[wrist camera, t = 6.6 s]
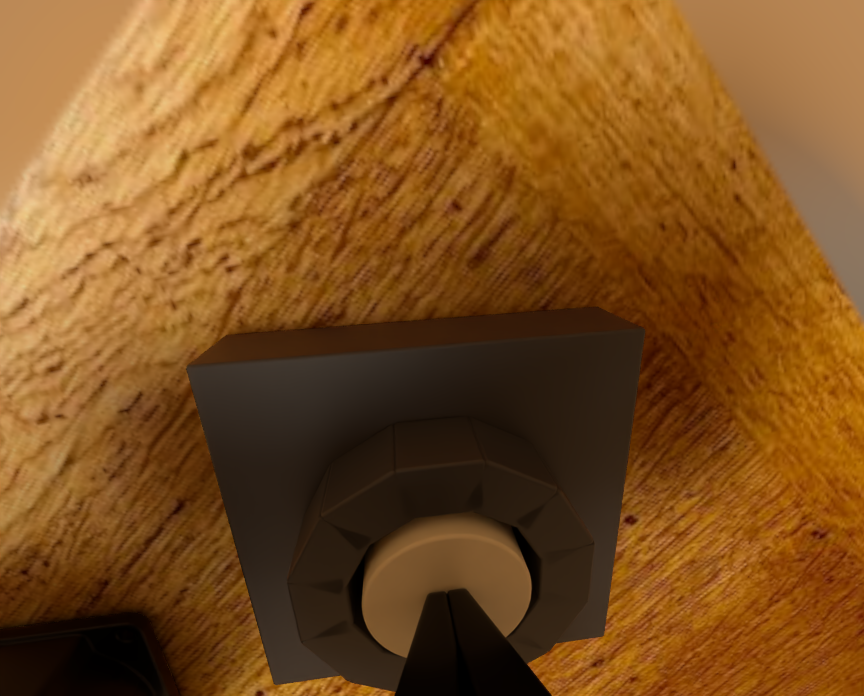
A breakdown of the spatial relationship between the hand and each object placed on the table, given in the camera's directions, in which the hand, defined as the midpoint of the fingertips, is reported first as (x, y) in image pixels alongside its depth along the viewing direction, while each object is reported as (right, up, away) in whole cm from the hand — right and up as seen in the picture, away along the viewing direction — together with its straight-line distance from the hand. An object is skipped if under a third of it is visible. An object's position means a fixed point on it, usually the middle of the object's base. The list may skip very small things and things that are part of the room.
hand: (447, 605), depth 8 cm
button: (0, +1, +2) cm, 2 cm away
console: (0, +1, +4) cm, 4 cm away
